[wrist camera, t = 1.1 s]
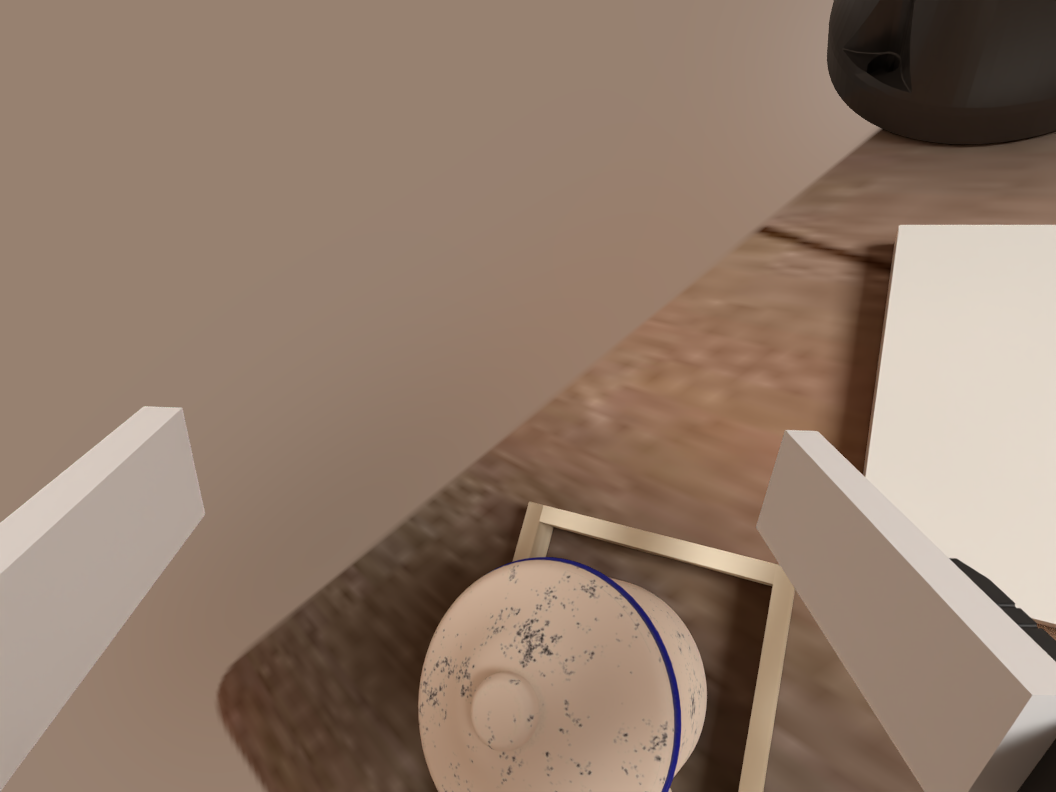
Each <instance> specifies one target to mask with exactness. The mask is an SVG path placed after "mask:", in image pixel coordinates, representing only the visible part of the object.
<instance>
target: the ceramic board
mask: <svg viewBox="0 0 1056 792" xmlns="http://www.w3.org/2000/svg"><path fill="white" fill-rule="evenodd" d="M863 476H864V477H865V478H866V479H868V480H869V481H870V482H871V483H872V484H873V485H874V486H875V487H876V488H877V489H878V490H879V491H880V492H881V493H882V494H883V495H884V496H885V497H886V498H887V499H888V500H889V501H890V502H891V503H892V504H893V505H894V506H895V507H896V508H897V509H898V510H900V511H901V512H902V513H903V514H904V515H905V516H906V517H907V518H908V519H909V520H910V521H911V522H912V523H913V524H914V525H915V526H916V527H917V528H918V529H919V530H920V531H921V532H922V533H923V534H924V535H925V536H926V537H927V538H928V539H929V540H931V541H932V542H933V543H934V544H935V545H936V546H937V547H938V548H939V549H940V550H941V551H942V552H943V553H944V554H945V555H946V556H947V557H948V558H957V559H958V560H960V561H962V562H963V563H965V564H966V565H968V566H969V567H971V568H973V569H974V570H976V571H977V572H979V573H980V574H982V575H984V576H985V577H987V578H988V579H990V580H991V581H992V582H993V583H994V584H995V585H996V586H997V587H998V588H999V589H1000V590H1002V591H1003V592H1004V593H1005V594H1006V595H1007V596H1008V597H1009V598H1010V599H1011V600H1012V601H1013V602H1014V603H1015V607H1016V608H1021V609H1022V610H1023V611H1024V612H1025V613H1026V614H1027V615H1028V616H1029V617H1031V618H1032V619H1033V620H1034V621H1035V622H1036V623H1037V624H1041V625H1045V626H1049V627H1053V628H1056V225H899V228H898V232H897V235H896V239H895V243H894V249H893V257H892V264H891V271H890V279H889V286H888V293H887V301H886V308H885V316H884V323H883V330H882V338H881V345H880V352H879V360H878V367H877V375H876V382H875V389H874V397H873V404H872V411H871V419H870V426H869V434H868V441H867V448H866V456H865V463H864V470H863Z"/></svg>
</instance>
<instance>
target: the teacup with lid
mask: <svg viewBox="0 0 1056 792" xmlns="http://www.w3.org/2000/svg"><path fill="white" fill-rule="evenodd" d="M706 706H707V685H706V678H705V672H704V667H703V663H702V660H701V657H700V653H699V651H698V648H697V646H696V644H695V642H694V640H693V638H692V636H691V634H690V632H689V631H688V629H687V627H686V626H685V624H684V623H683V622H682V620H681V619H680V618H679V616H678V615H677V614H676V613H675V612H674V611H673V610H672V609H671V608H670V607H669V606H668V605H667V604H666V603H665V602H664V601H663V600H661V599H660V598H659V597H657V596H656V595H654V594H653V593H651V592H649V591H648V590H646V589H644V588H642V587H640V586H637V585H635V584H632V583H629V582H625V581H621V580H617V579H613V578H609V577H607V576H606V575H604V574H602V573H601V572H599V571H597V570H595V569H593V568H591V567H589V566H586V565H583V564H581V563H578V562H574V561H571V560H567V559H561V558H554V557H536V558H527V559H521V560H517V561H514V562H510V563H507V564H505V565H503V566H500V567H498V568H496V569H494V570H492V571H490V572H489V573H487V574H485V575H484V576H483V577H481V578H480V579H478V580H477V581H475V582H474V583H473V584H472V585H470V586H469V587H468V588H467V589H466V590H465V591H464V592H463V593H462V594H461V595H460V596H459V597H458V598H457V599H456V600H455V601H454V603H453V604H452V605H451V606H450V608H449V609H448V611H447V612H446V614H445V615H444V617H443V618H442V620H441V622H440V623H439V625H438V627H437V629H436V631H435V633H434V635H433V638H432V640H431V642H430V645H429V648H428V651H427V654H426V657H425V661H424V664H423V669H422V674H421V679H420V687H419V701H418V714H419V728H420V736H421V742H422V747H423V751H424V755H425V759H426V763H427V766H428V768H429V771H430V774H431V777H432V779H433V781H434V784H435V786H436V788H437V790H438V792H672V791H671V789H670V786H671V783H672V780H673V778H674V776H675V775H676V774H677V772H678V771H679V770H680V769H681V767H682V766H683V765H684V763H685V762H686V761H687V760H688V758H689V756H690V755H691V753H692V752H693V750H694V748H695V746H696V744H697V742H698V740H699V737H700V734H701V731H702V728H703V724H704V720H705V714H706Z"/></svg>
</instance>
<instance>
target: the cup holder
mask: <svg viewBox="0 0 1056 792" xmlns="http://www.w3.org/2000/svg"><path fill="white" fill-rule="evenodd" d="M554 527H555V528H559V529H562V530H566V531H570V532H573V533H577V534H581V535H585V536H588V537H592V538H596V539H599V540H603V541H607V542H610V543H614V544H618V545H621V546H625V547H629V548H633V549H636V550H640V551H644V552H647V553H651V554H655V555H658V556H662V557H666V558H669V559H673V560H677V561H681V562H684V563H688V564H692V565H695V566H699V567H703V568H706V569H710V570H714V571H717V572H721V573H725V574H728V575H732V576H736V577H740V578H743V579H747V580H751V581H754V582H758V583H762V584H765V585H769V586H773V587H772V593H771V599H770V605H769V611H768V617H767V623H766V629H765V635H764V641H763V647H762V653H761V659H760V665H759V671H758V677H757V683H756V689H755V695H754V701H753V707H752V713H751V719H750V725H749V731H748V737H747V742H746V748H745V754H744V760H743V766H742V772H741V778H740V784H739V790H738V792H763V789H764V783H765V776H766V770H767V764H768V757H769V751H770V745H771V738H772V732H773V725H774V719H775V713H776V706H777V700H778V694H779V687H780V681H781V675H782V668H783V662H784V656H785V649H786V643H787V637H788V630H789V624H790V618H791V611H792V605H793V599H794V592H795V588H794V586H793V585H792V583H791V582H790V580H789V578H788V577H787V575H786V574H785V572H784V571H783V569H782V567H781V566H780V565H777V564H774V563H770V562H766V561H762V560H758V559H754V558H750V557H746V556H742V555H738V554H734V553H730V552H726V551H722V550H718V549H714V548H710V547H706V546H703V545H699V544H695V543H691V542H687V541H683V540H679V539H675V538H671V537H667V536H663V535H659V534H655V533H651V532H647V531H643V530H639V529H636V528H632V527H628V526H624V525H620V524H616V523H612V522H608V521H604V520H600V519H596V518H592V517H588V516H584V515H580V514H576V513H572V512H569V511H565V510H561V509H557V508H553V507H549V506H545V505H541V504H537V503H533V502H529V504H528V508H527V511H526V515H525V519H524V522H523V526H522V529H521V533H520V536H519V540H518V544H517V547H516V551H515V554H514V558H513V561H512V562H514V561H517V560H521V559H527V558H536V557H546V554H547V551H548V547H549V543H550V539H551V536H552V532H553V528H554Z"/></svg>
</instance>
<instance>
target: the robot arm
mask: <svg viewBox="0 0 1056 792" xmlns="http://www.w3.org/2000/svg"><path fill="white" fill-rule="evenodd" d="M827 62H828V70H829V74H830V78H831V81H832V83H833V85H834V87H835V89H836V91H837V93H838V94H839V96H840V97H841V98H842V100H843V101H844V102H845V103H846V104H847V105H848V106H849V107H850V108H851V109H852V110H853V111H854V112H855V113H857V114H858V115H860V116H861V117H862V118H864V119H865V120H867V121H869V122H870V123H872V124H874V125H876V126H878V127H880V128H882V129H885V130H887V131H890V132H892V133H895V134H898V135H901V136H905V137H909V138H913V139H918V140H923V141H929V142H937V143H948V144H986V143H998V142H1006V141H1013V140H1019V139H1024V138H1029V137H1034V136H1038V135H1043V134H1046V133H1050V132H1054V131H1056V0H834V3H833V7H832V11H831V15H830V22H829V34H828V50H827ZM204 515H205V511H204V506H203V502H202V497H201V492H200V488H199V483H198V479H197V474H196V469H195V465H194V460H193V455H192V451H191V446H190V442H189V437H188V433H187V428H186V423H185V419H184V414H183V409H182V408H174V407H147V406H144V407H143V408H141V409H140V410H139V411H138V412H136V413H135V414H134V415H133V416H131V417H130V418H129V419H128V420H127V421H125V422H124V423H123V424H122V425H120V426H119V427H118V428H117V429H116V430H114V431H113V432H112V433H111V434H109V435H108V436H107V437H106V438H104V439H103V440H102V441H101V442H100V443H98V444H97V445H96V446H95V447H93V448H92V449H91V450H90V451H88V452H87V453H86V454H85V455H83V456H82V457H81V458H80V459H79V460H77V461H76V462H75V463H74V464H72V465H71V466H70V467H69V468H67V469H66V470H65V471H64V472H63V473H61V474H60V475H59V476H58V477H56V478H55V479H54V480H53V481H51V482H50V483H49V484H48V485H46V486H45V487H44V488H43V489H42V490H40V491H39V492H38V493H37V494H35V495H34V496H33V497H32V498H30V499H29V500H28V501H27V502H25V503H24V504H23V505H22V506H21V507H19V508H18V509H17V510H16V511H14V512H13V513H12V514H11V515H9V516H8V517H7V518H6V519H5V520H3V521H2V522H1V523H0V791H1V790H2V789H3V787H4V786H5V784H6V783H7V782H8V780H9V779H10V778H11V776H12V775H13V774H14V772H15V771H16V770H17V768H18V767H19V766H20V764H21V763H22V762H23V760H24V759H25V758H26V756H27V755H28V754H29V752H30V751H31V749H32V748H33V747H34V745H35V744H36V743H37V741H38V740H39V739H40V737H41V736H42V735H43V733H44V732H45V731H46V729H47V728H48V726H49V725H50V724H51V722H52V721H53V720H54V718H55V717H56V716H57V714H58V713H59V711H60V710H61V709H62V708H63V706H64V705H65V703H66V702H67V701H68V699H69V698H70V697H71V695H72V694H73V693H74V691H75V690H76V689H77V687H78V686H79V685H80V683H81V682H82V680H83V679H84V678H85V676H86V675H87V674H88V672H89V671H90V670H91V668H92V667H93V666H94V664H95V663H96V662H97V660H98V659H99V657H100V656H101V655H102V653H103V652H104V651H105V649H106V648H107V647H108V645H109V644H110V643H111V641H112V640H113V639H114V637H115V636H116V634H117V633H118V632H119V630H120V629H121V627H122V626H123V625H124V624H125V622H126V621H127V620H128V618H129V616H131V614H132V613H133V611H134V610H135V609H136V607H137V606H138V605H139V603H140V602H141V601H142V599H143V598H144V596H145V595H146V594H147V592H148V591H149V590H150V588H151V587H152V586H153V584H154V583H155V581H156V580H157V579H158V578H159V576H160V575H161V574H162V572H163V571H164V570H165V568H166V567H167V565H168V564H169V563H170V561H171V560H172V559H173V557H174V556H175V555H176V553H177V552H178V551H179V549H180V548H181V547H182V545H183V544H184V542H185V541H186V540H187V538H188V537H189V536H190V534H191V533H192V531H193V530H194V529H195V528H196V526H197V525H198V524H199V522H200V521H201V519H202V518H203V516H204ZM756 528H757V530H758V531H759V533H760V534H761V536H762V538H763V539H764V541H765V542H766V544H767V545H768V547H769V549H770V550H771V552H772V553H773V555H774V556H775V558H776V560H777V561H778V563H779V564H780V566H781V567H782V569H783V571H784V572H785V574H786V575H787V577H788V578H789V580H790V582H791V583H792V585H793V586H794V588H795V589H796V591H797V593H798V594H799V596H800V597H801V599H802V600H803V602H804V603H805V605H806V607H807V608H808V610H809V611H810V613H811V614H812V616H813V618H814V619H815V621H816V622H817V624H818V625H819V627H820V629H821V630H822V632H823V633H824V635H825V636H826V638H827V640H828V641H829V643H830V644H831V646H832V647H833V649H834V651H835V652H836V654H837V655H838V657H839V658H840V660H841V662H842V663H843V665H844V666H845V668H846V669H847V671H848V673H849V674H850V676H851V677H852V679H853V680H854V682H855V684H856V685H857V687H858V688H859V690H860V691H861V693H862V695H863V696H864V698H865V699H866V701H867V702H868V704H869V705H870V707H871V709H872V710H873V712H874V713H875V715H876V716H877V718H878V720H879V721H880V723H881V724H882V726H883V727H884V729H885V731H886V732H887V734H888V735H889V737H890V738H891V740H892V742H893V743H894V745H895V746H896V748H897V749H898V751H899V753H900V754H901V756H902V757H903V759H904V760H905V762H906V764H907V765H908V767H909V768H910V770H911V771H912V773H913V775H914V776H915V778H916V779H917V781H918V782H919V784H920V786H921V787H922V789H923V790H924V792H1056V641H1055V640H1054V639H1053V638H1052V637H1051V636H1050V635H1049V634H1048V633H1047V632H1046V631H1044V630H1043V629H1038V627H1037V623H1036V622H1035V621H1034V620H1033V619H1032V618H1031V617H1029V616H1028V615H1027V614H1026V613H1025V612H1024V611H1023V610H1022V609H1021V608H1016V607H1015V603H1014V602H1013V601H1012V600H1011V599H1010V598H1009V597H1008V596H1007V595H1006V594H1005V593H1004V592H1003V591H1002V590H1000V589H999V588H998V587H997V586H996V585H995V584H994V583H993V582H992V581H991V580H990V579H988V578H987V577H985V576H984V575H982V574H980V573H979V572H977V571H976V570H974V569H973V568H971V567H969V566H968V565H966V564H965V563H963V562H962V561H960V560H958V559H957V558H948V557H947V556H946V555H945V554H944V553H943V552H942V551H941V550H940V549H939V548H938V547H937V546H936V545H935V544H934V543H933V542H932V541H931V540H929V539H928V538H927V537H926V536H925V535H924V534H923V533H922V532H921V531H920V530H919V529H918V528H917V527H916V526H915V525H914V524H913V523H912V522H911V521H910V520H909V519H908V518H907V517H906V516H905V515H904V514H903V513H902V512H901V511H900V510H898V509H897V508H896V507H895V506H894V505H893V504H892V503H891V502H890V501H889V500H888V499H887V498H886V497H885V496H884V495H883V494H882V493H881V492H880V491H879V490H878V489H877V488H876V487H875V486H874V485H873V484H872V483H871V482H870V481H869V480H868V479H866V478H865V477H864V476H863V475H862V474H861V473H860V472H859V471H858V470H857V469H856V468H855V467H854V466H853V465H852V464H851V463H850V462H849V461H848V460H847V459H846V458H845V457H844V456H843V455H842V454H841V453H840V452H839V451H838V450H837V449H836V448H834V447H833V446H832V445H831V444H830V443H829V442H828V441H827V440H826V439H825V438H824V437H823V436H822V435H821V434H820V433H819V432H818V431H800V430H785V432H784V436H783V439H782V442H781V446H780V449H779V452H778V456H777V459H776V462H775V466H774V469H773V472H772V476H771V479H770V482H769V486H768V489H767V492H766V496H765V499H764V502H763V506H762V509H761V512H760V516H759V519H758V522H757V526H756Z"/></svg>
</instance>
